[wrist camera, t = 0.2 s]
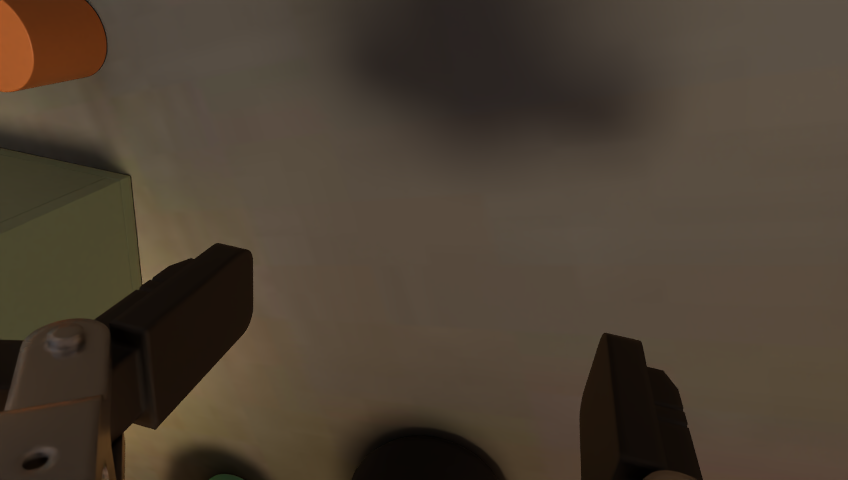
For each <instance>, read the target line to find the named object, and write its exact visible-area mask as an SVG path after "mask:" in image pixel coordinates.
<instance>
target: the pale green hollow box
mask: <svg viewBox="0 0 848 480" xmlns="http://www.w3.org/2000/svg"><path fill="white" fill-rule="evenodd" d="M140 286H142V283H141V274H140V264H139V255H138V245H137V236H136V227H135V217H134V208H133V198H132V189H131V179H130V176H128V175H123V174H119V173H114V172H109V171H105V170H100V169H95V168H91V167H86V166H82V165H77V164H72V163H68V162H63V161H58V160H54V159H49V158H44V157H40V156H35V155H31V154H26V153H21V152H17V151H12V150H7V149H3V148H0V340H25V338H26V337H27V336H28V335H29V334H31V333H32V332H34V331H35V330H37V329H39V328H40V327H42V326H45V325H47V324H50V323H53V322H56V321H61V320H66V319H75V318H85V319H92V320H94V319H96V318H97V317H98V316H100V315H101V314H103V313H104V312H105V311H107V310H108V309H110V308H111V307H112V306H114V305H115V304H117V303H118V302H119V301H121V300H122V299H124V298H125V297H126V296H128V295H129V294H131V293H132V292H133V291H135V290H139V288H140Z"/></svg>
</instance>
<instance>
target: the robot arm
mask: <svg viewBox="0 0 848 480" xmlns="http://www.w3.org/2000/svg"><path fill="white" fill-rule="evenodd" d="M252 313H253V257H252V254H251V252H250V251H249V250H247V249H242V248H238V247H233V246H229V245H225V244H220V243H217V244H214V245H213V246H211V247H210V248H209V249H207V250H206V251H205V252H203V253H202V254H201V255H199V256H198V257H197V258H195V259H192V258H190V259H187V260H185V261H182V262H179V263H176V264H174V265H171V266H168V267H167V268H166V269H164V270H163V271H161V272H160V273H159V274H157V275H156V276H154V277H153V279H152V280H149V281H147V282H146V283H145V284H143V285H142V286H140V288H139V290H135V291H133V292H132V293H131V294H129V295H128V296H126V297H125V298H124V299H122V300H121V301H119V302H118V303H117V304H115V305H114V306H112V307H111V308H110V309H108V310H107V311H105V312H104V313H103V314H101V315H100V316H98V317H97V318H96V319H94V320H92V319H85V318H75V319H66V320H61V321H56V322H53V323H50V324H47V325H45V326H42V327H40V328H39V329H37V330H35V331H34V332H32V333H31V334H29V335H28V336H27V337H26V338H25V340H0V480H125V438H124V431H125V430H126V429H127V428H128V427H129V426H130V425H131V424H132V423H134V424H137V425H141V426H144V427H148V428H151V429H156V428H157V427H158V426H159V425H160V424H161V423H162V422H163V421H164V420H165V419H166V418H167V416H168V415H169V414H170V413H171V412H172V411H173V410H174V409H175V408H176V407H177V406H178V404H179V403H180V402H181V401H182V400H183V399H184V398H185V397H186V396H187V395H188V394H189V392H190V391H191V390H192V389H193V388H194V387H195V386H196V385H197V384H198V383H199V382H200V381H201V379H202V378H203V377H204V376H205V375H206V374H207V373H208V372H209V371H210V370H211V369H212V367H213V366H214V365H215V364H216V363H217V362H218V361H219V360H220V359H221V358H222V357H223V355H224V354H225V353H226V352H227V351H228V350H229V349H230V348H231V347H232V346H233V345H234V344H235V342H236V341H237V340H238V339H239V338H240V337H241V336H242V335H243V334H244V332H245V331H246V329H247V327H248V325H249V323H250V320H251V317H252ZM580 451H581V480H703V478H702V475H701V471H700V467H699V464H698V460H697V456H696V453H695V449H694V445H693V442H692V438H691V435H690V431H689V428H687V420H686V416H685V413H684V412H683V405H682V402H681V398H680V394H679V391H678V389H677V387H676V386H675V385H674V384H673V382H672V381H671V380H670V379H669V377H668V376H667V375H666V374H665V372H664V371H663V370H658V369H654V368H650V367H647V365H646V360H645V356H644V351H643V346H642V343H641V341H639V340H635V339H630V338H626V337H622V336H617V335H613V334H609V333H604V334H603V335H602V337H601V339H600V342H599V345H598V348H597V351H596V354H595V358H594V361H593V364H592V367H591V370H590V373H589V376H588V379H587V383H586V386H585V389H584V392H583V397H582V402H581V408H580Z"/></svg>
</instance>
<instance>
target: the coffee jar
mask: <svg viewBox="0 0 848 480" xmlns="http://www.w3.org/2000/svg"><path fill="white" fill-rule="evenodd" d="M352 480H497V478H496V477H495V476H494V474H493V472H492V471H491V470H490V469H489V467H488V466H487V465H486V464H485V463H484V462H483V461H482V460H481V459H480V458H479V457H478V456H477V455H475V454H473V453H472V452H470V451H468V450H467V449H465V448H463V447H462V446H460V445H458V444H456V443H453V442H450V441H447V440H443V439H440V438H437V437H427V436H410V437H405V438H400V439H395V440H393V441H391V442H389V443H386V444H384V445H383V446H381V447H379V448H378V449H376V450H374V451H373V452H371V453H369V454H368V455H367V456H366V457H365V458H364V460H363V461H362V462H361V464H360V465H359V467H358V468H357V469H356V471H355V473H354V475H353V478H352Z"/></svg>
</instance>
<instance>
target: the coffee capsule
mask: <svg viewBox="0 0 848 480" xmlns="http://www.w3.org/2000/svg"><path fill="white" fill-rule="evenodd" d="M106 48H107V45H106V36H105V32H104V29H103V26H102V23H101V21H100V19H99V17H98V16H97V14H96V12H95V11H94V10H93V8H92V7H91V6H90V5H89V4H88V3H87V2H86V1H85V0H0V91H1V92H14V91H19V90H24V89H29V88H34V87H39V86H44V85H49V84H54V83H59V82H64V81H69V80H74V79H79V78H84V77H88V76H91V75H93V74H94V73H96V72H97V71H98V70H99V69H100V67H101V66H102V64H103V62H104V60H105V56H106Z"/></svg>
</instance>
